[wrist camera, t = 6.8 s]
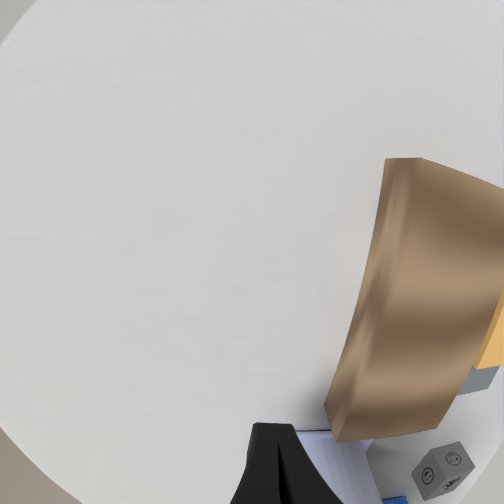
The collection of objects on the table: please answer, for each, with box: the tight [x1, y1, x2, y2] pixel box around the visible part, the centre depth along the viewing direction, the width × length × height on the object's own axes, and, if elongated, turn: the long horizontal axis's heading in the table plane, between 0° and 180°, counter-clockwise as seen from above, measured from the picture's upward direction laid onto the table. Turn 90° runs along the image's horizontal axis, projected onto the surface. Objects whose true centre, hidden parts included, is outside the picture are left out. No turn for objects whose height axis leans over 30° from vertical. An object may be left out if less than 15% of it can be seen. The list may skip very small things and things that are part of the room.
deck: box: [324, 158, 504, 442], centre depth 17 cm, size 18×9×4 cm, turn 173°
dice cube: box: [412, 442, 475, 501], centre depth 22 cm, size 5×5×5 cm
